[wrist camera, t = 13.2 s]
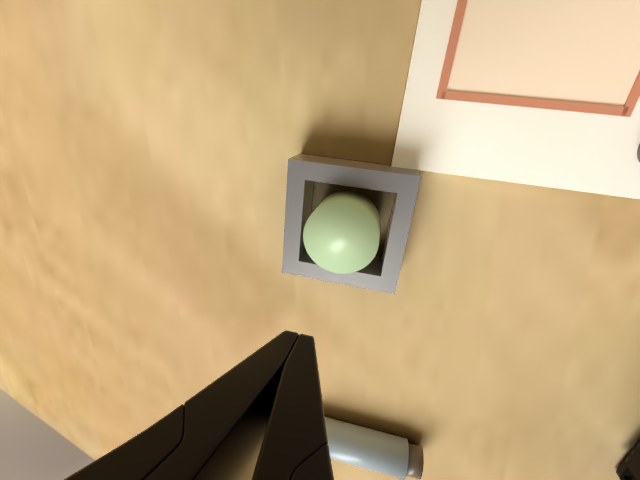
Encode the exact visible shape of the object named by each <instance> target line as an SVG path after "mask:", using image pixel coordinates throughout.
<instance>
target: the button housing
mask: <svg viewBox="0 0 640 480" xmlns="http://www.w3.org/2000/svg"><path fill="white" fill-rule="evenodd" d="M314 181H316V182H323V183H330V184H337V185H344V186H351V187H358V188H364V189H371V190H378V191H385V192H392V193H395V194H394V199H393V205H392V210H391V215H390V220H389V225H388V230H387V235H386V240H385V245H384V250H383V255H382V258H376V257H374V259H373V260H372V261H371V262H370V263H369V264H368V265H367V266H366V267H364V268H363V269H361V270H359V271H356V272H353V273H347V274H339V273H334V272H330V271H327V270H325V269H323V268H322V267H320V266H319V265H317V264H316V263H315V262H314V261H313V260H312V259H311V257H310V256H309V255H308V253H307V251H306V248H305V245H304V241H303V231H304V227H305V224H306V222H307V220H308V218H309V216H310V215H311V211H312V200H313V189H314ZM420 181H421V175H420V173H419V171H418V170H414V169H406V168H399V167H391V165H384V164H376V163H368V162H361V161H353V160H345V159H338V158H330V157H322V156H315V155H307V154H299V155H296V156H294V157H292V158H289V159H288V174H287V192H286V210H285V228H284V246H283V264H282V273H287V274H292V275H298V276H303V277H308V278H313V279H318V280H323V281H329V282H334V283H339V284H344V285H349V286H354V287H360V288H365V289H370V290H375V291H380V292H385V293H391V294H395V291H396V287H397V283H398V278H399V274H400V269H401V265H402V260H403V256H404V252H405V247H406V243H407V238H408V234H409V230H410V225H411V221H412V216H413V212H414V207H415V203H416V199H417V194H418V190H419V185H420Z"/></svg>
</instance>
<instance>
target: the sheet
mask: <svg viewBox="0 0 640 480" xmlns="http://www.w3.org/2000/svg"><path fill="white" fill-rule="evenodd" d="M639 144H640V0H422V2H421V8H420V13H419V19H418V24H417V29H416V35H415V40H414V45H413V51H412V56H411V62H410V67H409V72H408V78H407V83H406V89H405V94H404V99H403V105H402V110H401V116H400V121H399V126H398V132H397V137H396V143H395V148H394V153H393V159H392V164H391V167H399V168H406V169H414V170H422V171H429V172H437V173H445V174H452V175H460V176H467V177H475V178H483V179H490V180H498V181H506V182H513V183H521V184H529V185H536V186H544V187H551V188H559V189H567V190H574V191H582V192H590V193H597V194H605V195H613V196H620V197H628V198H636V199H640V162H639V160H638V157H637V150H638V146H639Z"/></svg>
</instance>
